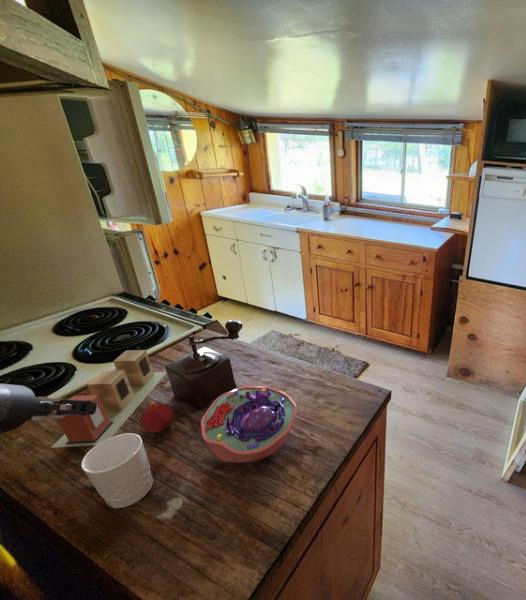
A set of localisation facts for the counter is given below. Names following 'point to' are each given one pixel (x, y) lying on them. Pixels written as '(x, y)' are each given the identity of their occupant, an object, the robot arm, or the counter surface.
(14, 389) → the robot arm
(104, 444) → the white cup
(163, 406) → the red rounded lump
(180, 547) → the counter surface
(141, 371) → the maple letter far
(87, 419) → the letter block
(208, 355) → the manual coffee grinder
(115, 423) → the word mat
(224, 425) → the cell model
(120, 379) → the maple letter middle
